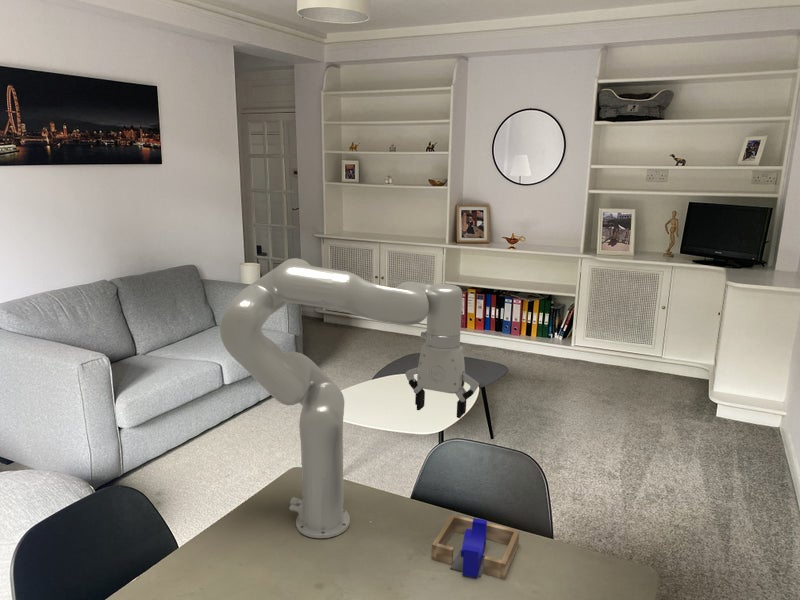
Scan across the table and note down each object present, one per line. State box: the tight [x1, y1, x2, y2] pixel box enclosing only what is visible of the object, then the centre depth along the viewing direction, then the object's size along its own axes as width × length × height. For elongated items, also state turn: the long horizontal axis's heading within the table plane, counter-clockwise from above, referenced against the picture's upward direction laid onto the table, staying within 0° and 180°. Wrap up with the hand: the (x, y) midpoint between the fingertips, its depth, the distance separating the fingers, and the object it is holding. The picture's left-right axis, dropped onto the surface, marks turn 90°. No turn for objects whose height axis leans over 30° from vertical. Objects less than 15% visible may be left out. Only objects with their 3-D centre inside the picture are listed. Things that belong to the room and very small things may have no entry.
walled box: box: [431, 514, 520, 580], centre depth 135 cm, size 16×14×4 cm
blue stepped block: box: [461, 517, 488, 579], centre depth 133 cm, size 12×4×6 cm, turn 164°
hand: (440, 412), depth 141 cm, fingers open, 9 cm apart
